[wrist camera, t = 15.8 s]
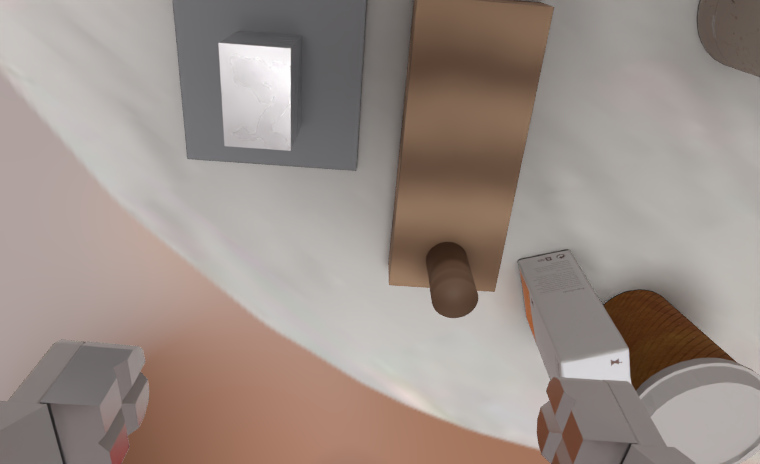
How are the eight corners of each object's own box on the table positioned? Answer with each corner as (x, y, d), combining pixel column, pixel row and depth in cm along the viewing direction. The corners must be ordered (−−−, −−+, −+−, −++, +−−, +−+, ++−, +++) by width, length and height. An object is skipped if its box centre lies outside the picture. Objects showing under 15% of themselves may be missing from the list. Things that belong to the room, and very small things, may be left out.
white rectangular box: (238, 30, 35) (218, 42, 30) (301, 35, 35) (290, 48, 30) (242, 122, 37) (224, 146, 33) (301, 126, 38) (290, 150, 33)
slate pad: (173, -28, 34) (170, -28, 33) (367, -12, 34) (367, -12, 34) (190, 156, 39) (187, 159, 39) (356, 167, 40) (356, 170, 39)
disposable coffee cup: (709, 281, 44) (813, 386, 34) (662, 369, 49) (741, 488, 38) (597, 264, 44) (668, 367, 33) (559, 356, 48) (611, 473, 37)
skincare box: (515, 259, 43) (559, 360, 33) (569, 247, 43) (632, 347, 32) (524, 319, 46) (568, 430, 35) (575, 309, 46) (635, 419, 35)
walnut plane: (414, -9, 34) (424, 3, 27) (540, 2, 34) (582, 17, 27) (388, 264, 43) (390, 326, 36) (487, 270, 44) (508, 333, 37)
